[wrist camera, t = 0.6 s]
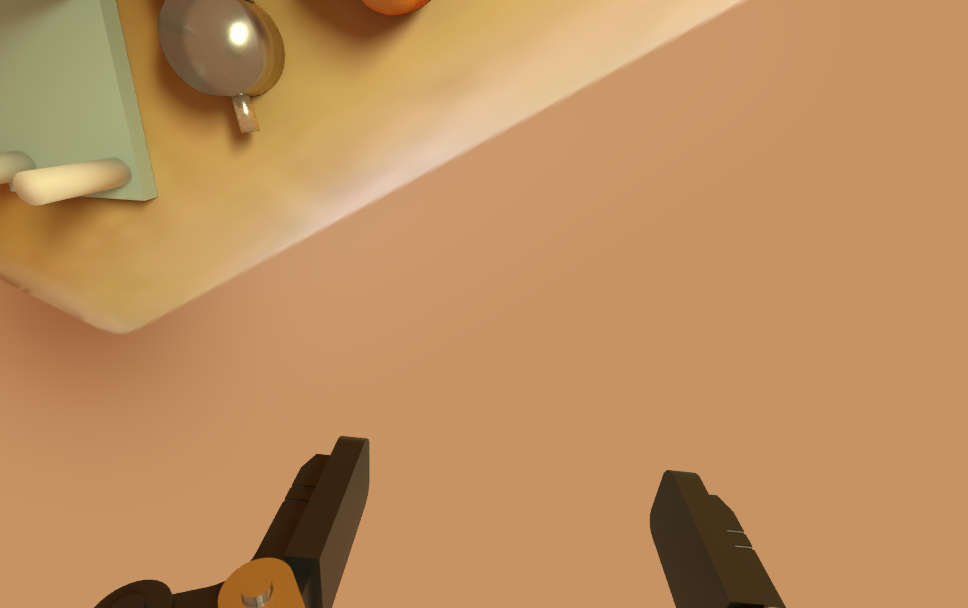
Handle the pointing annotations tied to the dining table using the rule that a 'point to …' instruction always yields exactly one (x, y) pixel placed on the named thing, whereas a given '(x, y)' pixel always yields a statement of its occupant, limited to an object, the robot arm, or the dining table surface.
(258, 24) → the ball-topped lever
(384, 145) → the dining table surface
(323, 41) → the dining table surface
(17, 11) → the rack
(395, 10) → the fruit
